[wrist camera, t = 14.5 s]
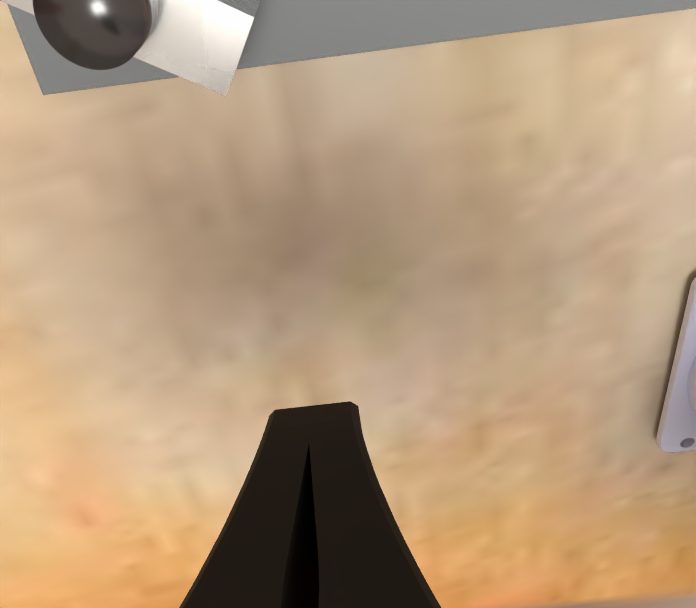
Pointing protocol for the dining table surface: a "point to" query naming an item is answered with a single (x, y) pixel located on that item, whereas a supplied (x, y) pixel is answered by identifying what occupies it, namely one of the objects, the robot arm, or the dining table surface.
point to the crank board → (344, 31)
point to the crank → (149, 34)
